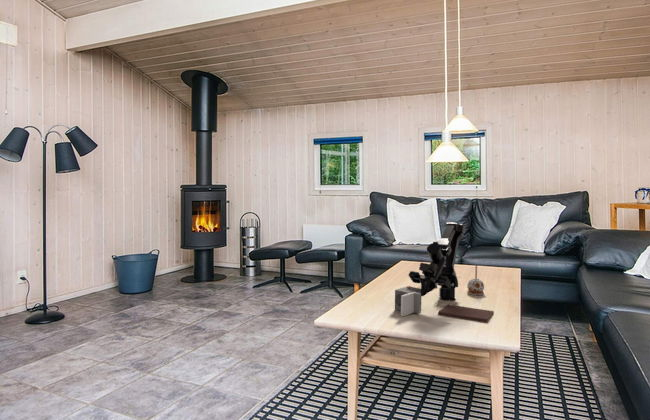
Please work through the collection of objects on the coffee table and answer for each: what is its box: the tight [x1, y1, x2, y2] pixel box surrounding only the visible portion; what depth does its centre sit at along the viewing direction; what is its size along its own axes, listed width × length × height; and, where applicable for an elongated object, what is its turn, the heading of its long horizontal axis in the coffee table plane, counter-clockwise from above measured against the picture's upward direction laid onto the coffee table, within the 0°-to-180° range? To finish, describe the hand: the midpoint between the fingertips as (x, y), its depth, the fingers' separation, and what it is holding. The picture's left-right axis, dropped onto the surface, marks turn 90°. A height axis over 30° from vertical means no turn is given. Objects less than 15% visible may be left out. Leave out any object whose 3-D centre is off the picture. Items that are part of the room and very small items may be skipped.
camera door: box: [400, 292, 422, 317], centre depth 180 cm, size 10×4×8 cm, turn 135°
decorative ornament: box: [467, 264, 485, 296], centre depth 217 cm, size 8×8×15 cm
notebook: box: [437, 303, 495, 323], centre depth 182 cm, size 15×20×2 cm
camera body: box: [394, 285, 421, 313], centre depth 187 cm, size 11×7×10 cm, turn 135°
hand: (421, 295), depth 184 cm, fingers closed
